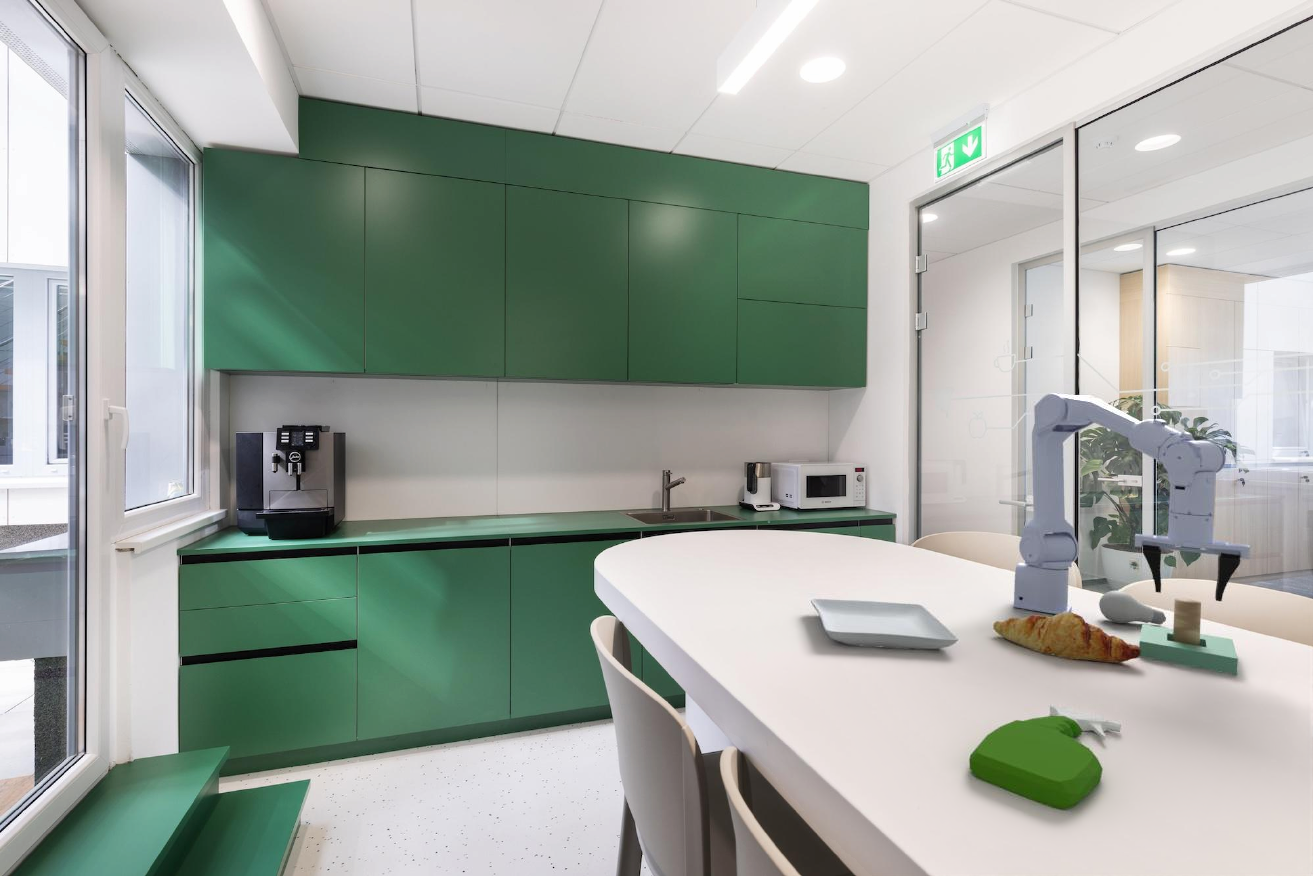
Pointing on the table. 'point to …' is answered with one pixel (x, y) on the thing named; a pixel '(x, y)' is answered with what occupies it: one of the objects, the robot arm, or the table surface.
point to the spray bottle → (1043, 757)
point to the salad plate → (882, 624)
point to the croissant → (1066, 638)
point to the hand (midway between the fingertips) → (1187, 595)
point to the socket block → (1189, 650)
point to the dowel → (1187, 621)
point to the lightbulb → (1128, 609)
